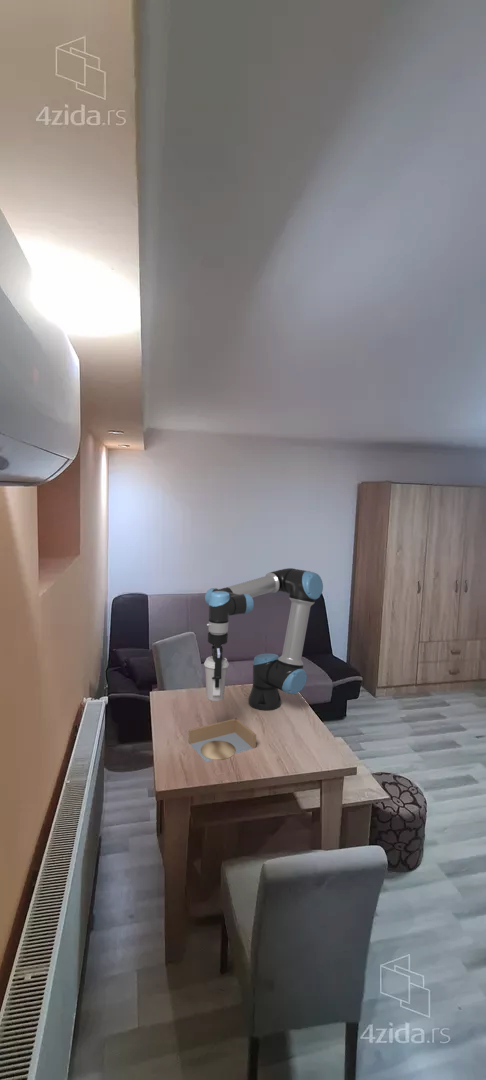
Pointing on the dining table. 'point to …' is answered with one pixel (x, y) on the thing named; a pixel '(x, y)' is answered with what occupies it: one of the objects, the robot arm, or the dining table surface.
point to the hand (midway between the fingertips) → (215, 690)
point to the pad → (218, 750)
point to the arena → (223, 736)
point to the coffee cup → (209, 672)
